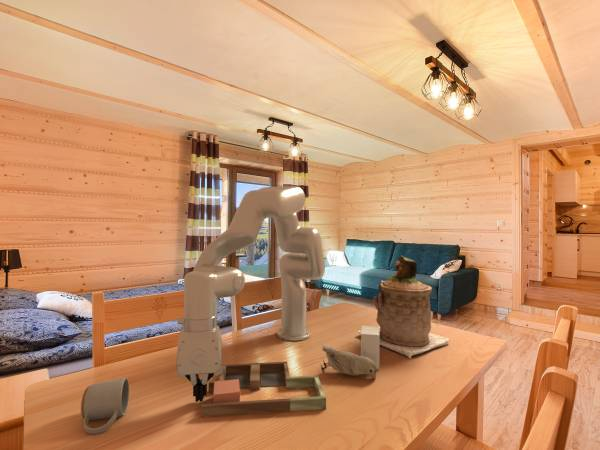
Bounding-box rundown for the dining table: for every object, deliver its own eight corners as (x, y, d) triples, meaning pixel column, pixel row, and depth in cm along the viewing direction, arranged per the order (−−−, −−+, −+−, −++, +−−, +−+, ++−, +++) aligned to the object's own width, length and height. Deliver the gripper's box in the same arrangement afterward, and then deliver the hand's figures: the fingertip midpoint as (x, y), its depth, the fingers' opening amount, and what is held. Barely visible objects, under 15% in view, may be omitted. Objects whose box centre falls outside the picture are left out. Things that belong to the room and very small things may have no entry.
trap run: (214, 373, 90) (214, 365, 90) (311, 368, 94) (311, 360, 94) (201, 417, 70) (201, 406, 70) (326, 408, 74) (326, 398, 74)
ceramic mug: (90, 408, 73) (90, 376, 73) (129, 402, 75) (129, 371, 75) (73, 440, 63) (72, 403, 62) (119, 432, 65) (118, 396, 65)
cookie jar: (452, 344, 114) (454, 256, 113) (410, 360, 100) (411, 260, 99) (396, 324, 134) (398, 250, 134) (355, 336, 120) (356, 253, 120)
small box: (379, 370, 93) (379, 335, 93) (360, 368, 94) (360, 333, 94) (378, 358, 101) (378, 326, 101) (360, 357, 102) (361, 325, 102)
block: (214, 397, 78) (214, 381, 78) (238, 394, 80) (238, 379, 80) (213, 411, 72) (213, 394, 72) (239, 408, 74) (239, 391, 74)
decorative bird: (375, 384, 85) (376, 357, 85) (318, 375, 90) (319, 349, 90) (377, 375, 90) (377, 349, 90) (323, 366, 95) (323, 342, 95)
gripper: (163, 329, 70) (162, 410, 71) (230, 327, 72) (230, 405, 73) (172, 318, 78) (172, 391, 78) (233, 317, 80) (233, 388, 80)
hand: (200, 398), depth 75 cm, fingers closed
